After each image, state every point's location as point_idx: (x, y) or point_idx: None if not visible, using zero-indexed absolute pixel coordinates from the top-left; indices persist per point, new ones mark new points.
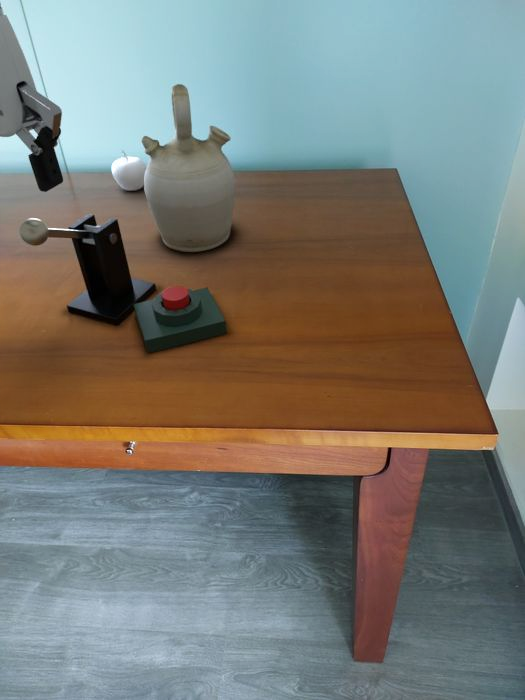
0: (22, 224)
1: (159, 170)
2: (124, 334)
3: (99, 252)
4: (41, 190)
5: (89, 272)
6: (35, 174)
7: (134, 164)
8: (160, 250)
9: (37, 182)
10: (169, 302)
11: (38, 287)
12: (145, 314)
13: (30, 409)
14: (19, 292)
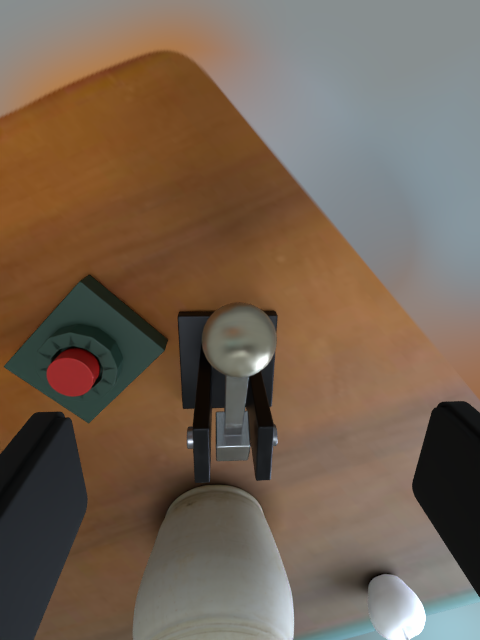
0: (254, 334)
1: (230, 631)
2: (155, 298)
3: (203, 399)
4: (49, 412)
5: None
6: (3, 471)
7: (386, 626)
8: (242, 477)
9: (33, 437)
10: (64, 355)
11: (364, 344)
12: (127, 335)
13: (163, 85)
14: (386, 323)
